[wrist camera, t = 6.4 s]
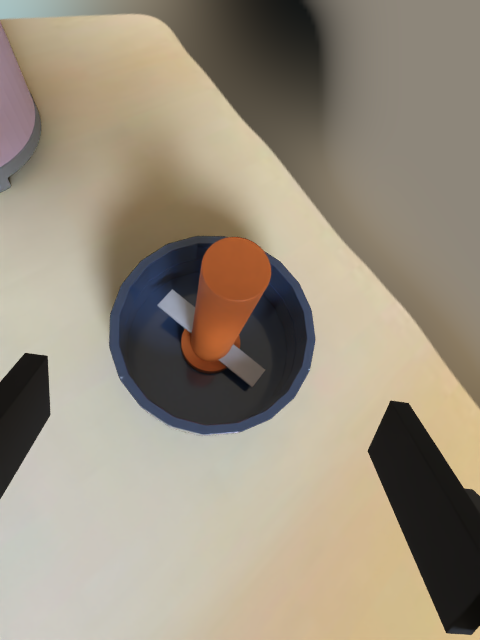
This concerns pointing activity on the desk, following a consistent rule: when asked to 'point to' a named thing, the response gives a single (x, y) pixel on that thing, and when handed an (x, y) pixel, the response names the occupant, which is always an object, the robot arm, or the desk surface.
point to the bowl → (184, 381)
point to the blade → (222, 308)
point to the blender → (15, 115)
